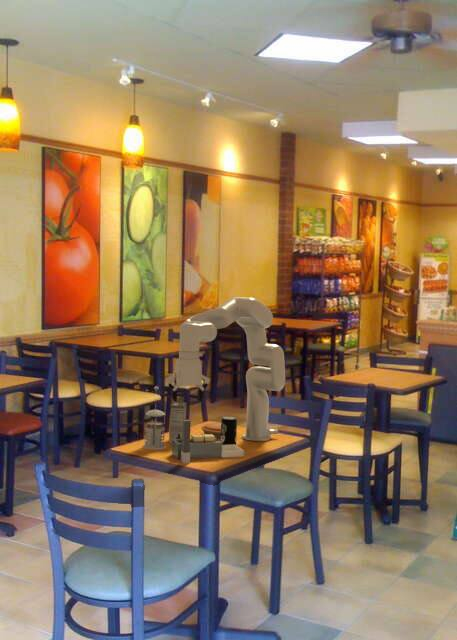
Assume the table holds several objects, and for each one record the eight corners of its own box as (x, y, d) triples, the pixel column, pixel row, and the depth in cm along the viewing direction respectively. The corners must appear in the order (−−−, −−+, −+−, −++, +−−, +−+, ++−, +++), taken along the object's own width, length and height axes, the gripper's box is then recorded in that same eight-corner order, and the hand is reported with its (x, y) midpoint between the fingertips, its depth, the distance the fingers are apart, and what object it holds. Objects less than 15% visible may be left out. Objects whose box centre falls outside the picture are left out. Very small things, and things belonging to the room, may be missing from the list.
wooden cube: (211, 444, 306) (211, 434, 306) (214, 446, 303) (214, 436, 302) (201, 444, 305) (202, 434, 305) (204, 446, 301) (205, 436, 301)
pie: (201, 431, 348) (201, 420, 348) (235, 433, 348) (236, 422, 348) (199, 439, 333) (200, 427, 332) (235, 440, 333) (236, 429, 332)
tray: (234, 450, 314) (234, 444, 314) (244, 457, 304) (244, 450, 304) (213, 451, 311) (213, 445, 311) (222, 458, 301) (222, 451, 301)
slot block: (215, 452, 309) (215, 437, 309) (221, 457, 302) (222, 442, 301) (171, 454, 303) (172, 439, 303) (177, 459, 296) (177, 444, 295)
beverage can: (234, 448, 318) (235, 419, 317) (218, 447, 319) (219, 418, 318) (237, 444, 324) (238, 416, 323) (222, 443, 326) (223, 415, 325)
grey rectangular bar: (186, 460, 295) (188, 419, 294) (189, 463, 291) (191, 421, 290) (180, 460, 294) (182, 419, 293) (183, 463, 290) (185, 421, 289)
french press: (167, 444, 320) (169, 384, 318) (165, 451, 308) (167, 389, 307) (143, 443, 320) (145, 383, 318) (140, 450, 308) (142, 388, 307)
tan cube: (200, 444, 305) (200, 434, 305) (203, 446, 301) (203, 436, 301) (190, 444, 303) (191, 434, 303) (193, 447, 300) (194, 437, 299)
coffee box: (170, 439, 330) (172, 401, 329) (185, 439, 330) (186, 402, 329) (168, 443, 321) (169, 405, 320) (184, 444, 321) (185, 406, 320)
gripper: (207, 354, 296) (205, 398, 297) (164, 354, 291) (162, 399, 292) (213, 357, 289) (211, 402, 290) (169, 356, 283) (167, 402, 285)
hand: (187, 400), depth 291 cm, fingers open, 9 cm apart
